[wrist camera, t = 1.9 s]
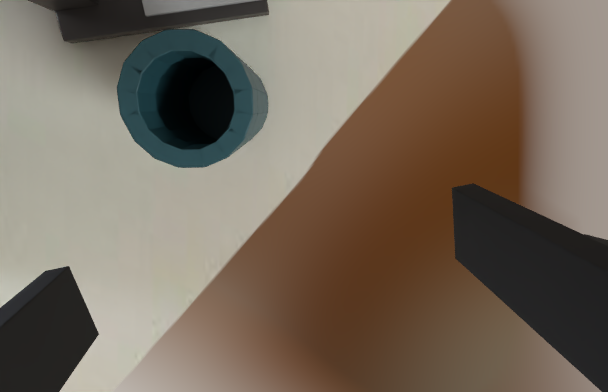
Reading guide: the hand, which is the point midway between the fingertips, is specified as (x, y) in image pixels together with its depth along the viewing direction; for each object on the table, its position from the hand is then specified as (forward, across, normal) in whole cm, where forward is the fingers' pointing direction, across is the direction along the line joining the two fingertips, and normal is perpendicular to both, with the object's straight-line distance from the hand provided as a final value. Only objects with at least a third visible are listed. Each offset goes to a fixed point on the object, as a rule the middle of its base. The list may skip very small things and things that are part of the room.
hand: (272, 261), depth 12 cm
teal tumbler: (+26, -3, +5) cm, 27 cm away
